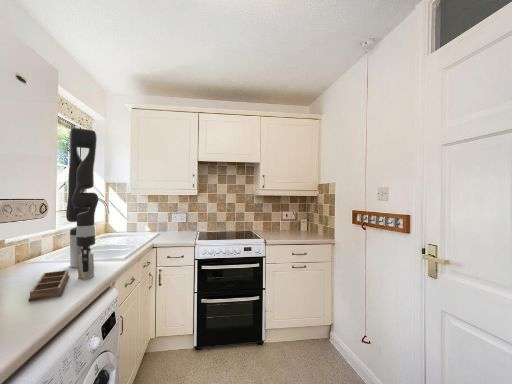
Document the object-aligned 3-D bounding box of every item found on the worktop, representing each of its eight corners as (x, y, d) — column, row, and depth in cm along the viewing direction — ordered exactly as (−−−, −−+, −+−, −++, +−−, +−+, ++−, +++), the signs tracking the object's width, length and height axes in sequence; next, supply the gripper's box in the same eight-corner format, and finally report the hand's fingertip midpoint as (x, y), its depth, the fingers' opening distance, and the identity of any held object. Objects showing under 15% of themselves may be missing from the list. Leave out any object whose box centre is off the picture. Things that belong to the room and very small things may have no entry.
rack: (42, 280, 122) (42, 273, 122) (69, 277, 127) (69, 269, 127) (28, 301, 100) (28, 292, 100) (61, 296, 105) (61, 287, 105)
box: (88, 275, 130) (88, 252, 129) (94, 276, 128) (94, 253, 128) (77, 278, 125) (77, 255, 125) (83, 280, 123) (83, 256, 123)
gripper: (77, 233, 130) (78, 266, 130) (74, 238, 118) (75, 274, 118) (95, 232, 134) (96, 264, 134) (94, 236, 122) (95, 272, 122)
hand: (86, 269), depth 126 cm, fingers open, 8 cm apart
